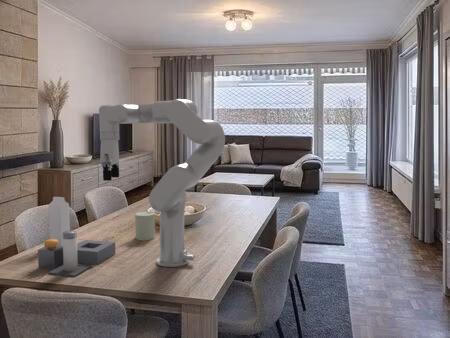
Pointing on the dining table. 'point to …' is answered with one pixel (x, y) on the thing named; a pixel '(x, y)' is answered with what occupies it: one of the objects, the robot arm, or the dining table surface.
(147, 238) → the can
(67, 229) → the milk
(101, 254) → the block
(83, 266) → the mat
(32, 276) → the dining table surface
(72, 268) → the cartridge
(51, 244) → the plunger
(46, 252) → the dark grey cube
